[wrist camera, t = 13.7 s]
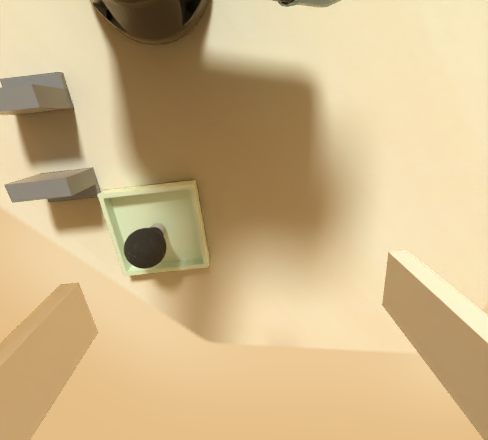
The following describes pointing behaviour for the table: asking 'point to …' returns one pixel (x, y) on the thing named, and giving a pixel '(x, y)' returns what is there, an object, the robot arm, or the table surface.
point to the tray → (158, 211)
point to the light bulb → (146, 246)
